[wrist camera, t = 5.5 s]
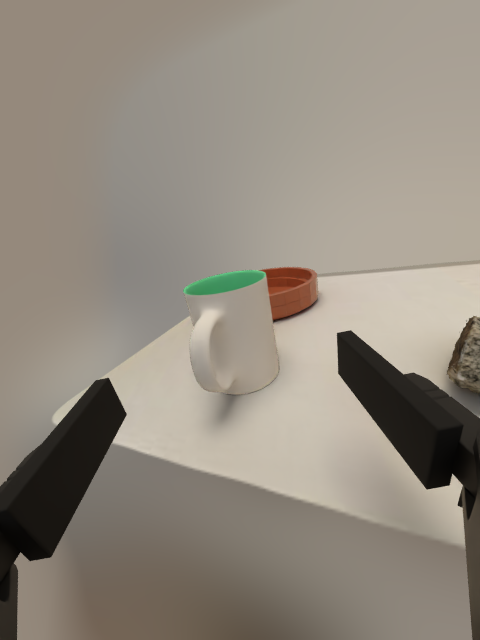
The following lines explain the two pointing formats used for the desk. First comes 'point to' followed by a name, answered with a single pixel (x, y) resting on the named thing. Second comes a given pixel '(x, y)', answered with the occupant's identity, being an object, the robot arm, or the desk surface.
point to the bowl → (290, 290)
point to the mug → (232, 332)
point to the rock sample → (467, 357)
